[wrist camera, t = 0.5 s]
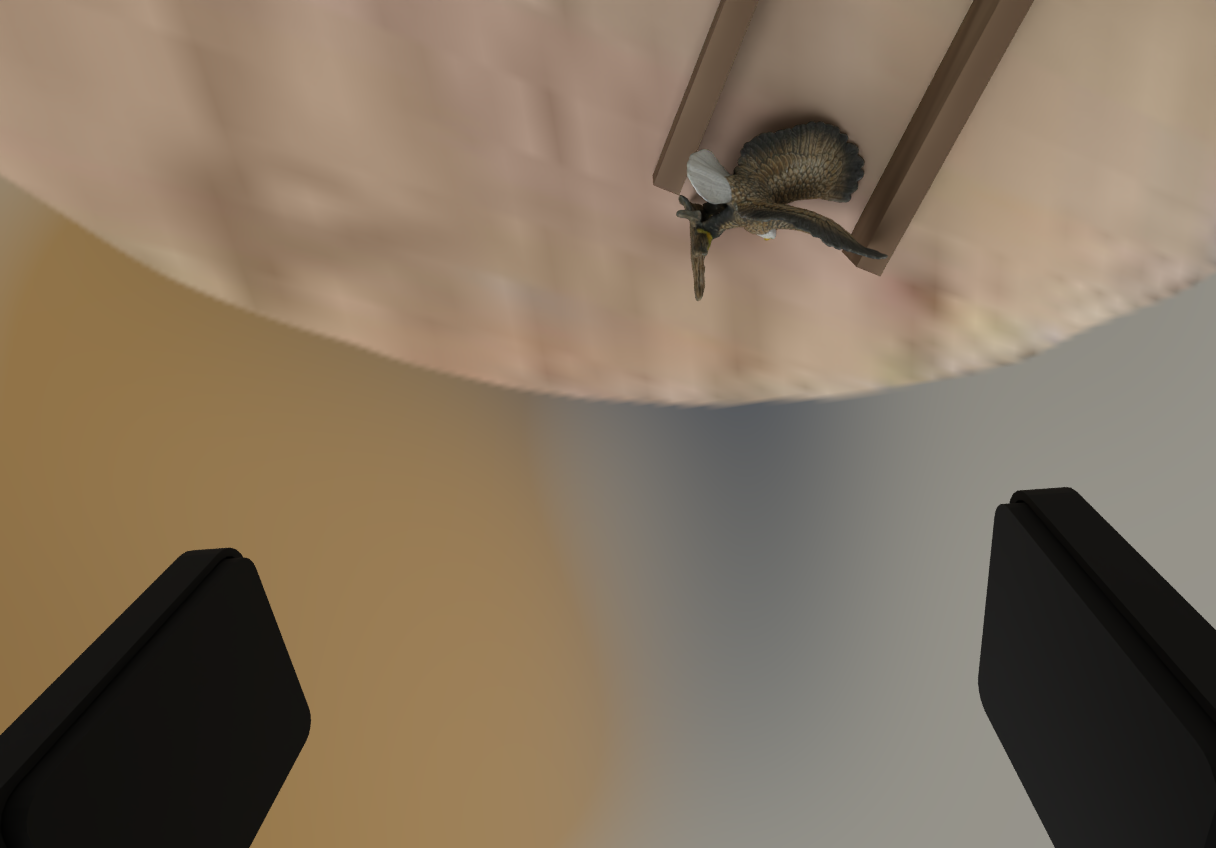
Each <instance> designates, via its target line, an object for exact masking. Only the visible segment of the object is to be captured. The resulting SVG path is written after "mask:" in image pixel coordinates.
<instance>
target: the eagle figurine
mask: <svg viewBox="0 0 1216 848" xmlns="http://www.w3.org/2000/svg"><path fill="white" fill-rule="evenodd" d="M847 140H848V137H847V135H846V134H840V130H839V128H838V127H836V126H833V125H831V124H825V123H824V122H817V123H815V122H814V121H812V122H809V123H808V124H807V125H805V124H802V125H796V126H794V127H793V128H792V129H790V128H787V129H785V130H779V131H777V132H776V133H772V132H768V133H762V134H760V135H759V136H756V137H754V138H753V139H752V140H751V141H750V142H747V143H745V145H744V148H743V149H741V151H740V153H741V157H740V158H739V160H738V165H739V166H737V167H736V168H735V169H734V174H733V175H731V174H729V173H728V172H727V171H726V170H725V169H724V167H723V166H722V165H721V164H720V163H719V161H718V160H717V159H716V157H715V156H714V154H713V153H712V152H711V151H709V150H707V149H702V150H700V151H698V152H696V153H692V154H691V155H690V157H689V160H688V162H687V176H688V178H689V180H690V181H691V184H692V186H693V187H694V188H695V190H696V192H697V193H698V194H699V195H700V196H701V197H702V198H703V199H704V200H706V201H707V203H705V204H703V206H702V205H700V204H693V203H691V202H689V200H688V199H687V198H686V197H684V196H682V195H680V196H679V202H680V203H681V204H682V205H683V206H684V208H685V210H679V211H678V212H677V214H676V215H677V217H680V218H686V219H689V221H690V238H691V262H692V270H693V277H694V291H695V298H696V300H697V301H700V300H701V298H702V296H703V292H704V288H705V280H704V272H705V267H704V258H705V256H706V255H707V253H708V250H709V247H710V245H711V241H712V240H713V239H714V238H717V237H719V236H720V235H721V234H722V233H723V231H725V230H726V229H731V228H736V227H744V229H745V230H747V231H748V232H750V233H752V234H756V235H759V236H761V237H763V238H764V239H765V240H769V239H774V238H775V237H776V229H790V230H797V231H802V232H805V233H808V234H811V235H812V236H813V237H818V238H820V239H821V240H822V241H823V242H824V243H825V244H826V245H827V246H829V247H834V248H835V249H838V250H841V249H843V250H845V251H847V252H852V253H855V254H857V255H861V256H865V257H868V258H872V259H878V260H880V259H886V258H887V257H888V255H886V254H883V253H880V252H879V251H876V250H873V249H870V248H866V247H864V246H862V245H861V244H860V243H858V242H857V241H856V239H855V238H854V237H853V236H852V235H851V234H850V233H848V232H847V231H846V230H845V229H844V228H842V227H841V226H840V225H839V224H837V223H836V222H834V221H833V220H831V219H829V218H827V217H824V216H822V215H820V214H817V213H815V212H813V211H809V210H807V209H802V208H797V207H794V206H789V205H784V204H787V203H790V202H793V201H797V200H806V199H817V198H820V199H824V200H828V201H835V202H849V200H850V199H851V194H852V193H853V192H854V191H856V190H857V189H858V184H857V181H858V180H860V179H861V178H862V177H863V176H864V171H863V170H862V167H863V166H864V160H863V158H861V157H860V156H858V155H857V154H858V152H859V149H858V147H857V146H856V145H854V144H851V143H847Z"/></svg>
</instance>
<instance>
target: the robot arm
mask: <svg viewBox="0 0 1216 848" xmlns="http://www.w3.org/2000/svg"><path fill="white" fill-rule="evenodd" d="M978 686H979V693H980V698H981V701H982V704H983V707H984V709H985V712H986V714H987V716H988V718H989V720H990V722H991V724H992V726H993V728H994V730H995V732H996V734H997V736H998V737H999V739H1000V741H1001V743H1002V745H1003V747H1004V749H1005V751H1006V753H1007V755H1008V757H1009V759H1010V760H1011V763H1012V765H1013V767H1014V769H1015V771H1016V772H1017V775H1018V777H1019V778H1020V780H1021V782H1022V784H1023V786H1024V788H1025V790H1026V792H1027V794H1028V796H1029V798H1030V800H1031V802H1032V804H1033V806H1034V808H1035V810H1036V812H1037V814H1038V816H1039V817H1040V819H1041V821H1042V823H1043V825H1044V827H1045V829H1046V831H1047V833H1048V835H1049V837H1050V839H1051V841H1052V843H1053V845H1054V847H1055V848H1216V630H1215V629H1214V628H1213V627H1212V626H1211V625H1210V624H1209V623H1208V622H1207V621H1206V620H1205V619H1204V618H1203V617H1202V616H1201V615H1200V614H1199V613H1198V612H1197V611H1196V610H1195V609H1194V608H1193V607H1192V606H1191V605H1190V604H1189V603H1188V602H1187V601H1186V600H1185V599H1184V598H1183V597H1182V596H1181V595H1180V594H1179V593H1178V592H1177V591H1176V590H1175V589H1174V588H1173V587H1172V586H1171V585H1170V584H1169V583H1168V582H1167V581H1166V580H1165V579H1164V578H1163V577H1162V576H1161V575H1160V574H1159V573H1158V572H1157V571H1156V570H1155V569H1154V568H1153V567H1152V566H1151V565H1150V564H1149V563H1148V562H1147V561H1146V560H1145V559H1144V558H1143V557H1142V556H1141V555H1140V554H1139V553H1138V552H1137V551H1136V550H1135V549H1134V548H1133V547H1132V546H1131V545H1130V544H1129V543H1128V542H1127V541H1126V540H1125V539H1124V538H1123V537H1122V536H1121V535H1120V534H1119V533H1118V532H1117V531H1116V530H1115V529H1114V528H1113V527H1112V526H1111V525H1110V524H1109V523H1108V522H1107V521H1106V520H1105V519H1104V518H1103V517H1101V516H1100V514H1099V513H1098V512H1097V511H1096V510H1095V509H1093V507H1092V506H1091V505H1090V504H1089V503H1088V502H1086V501H1085V499H1084V498H1083V497H1082V496H1081V495H1080V494H1078V492H1076V491H1075V490H1073V489H1072V488H1068V487H1062V488H1048V489H1035V490H1020V491H1016V492H1015V493H1014V494H1013V495H1012V497H1011V499H1010V504H1000V505H999V506H998V507H997V509H996V512H995V517H994V527H993V538H992V547H991V557H990V566H989V577H988V586H987V597H986V606H985V616H984V625H983V635H982V645H981V655H980V666H979V675H978ZM310 724H311V715H310V710H309V707H308V704H307V702H306V699H305V696H304V694H303V691H302V689H301V686H300V683H299V680H298V678H297V675H296V673H295V670H294V667H293V665H292V662H291V659H290V657H289V654H288V651H287V649H286V646H285V644H284V641H283V638H282V636H281V633H280V630H279V628H278V625H277V622H276V620H275V617H274V614H273V612H272V609H271V607H270V604H269V601H268V599H267V596H266V594H265V591H264V588H263V585H262V583H261V580H260V577H259V575H258V572H257V570H256V567H255V565H254V563H253V562H252V561H251V560H250V559H248V558H243V556H242V555H241V553H239V552H238V551H237V550H236V549H233V548H219V549H205V550H193V551H187V552H185V553H183V554H182V555H181V556H179V557H178V558H177V559H176V560H175V561H174V562H173V564H171V565H170V566H169V567H168V568H167V569H166V570H165V571H164V572H163V573H162V575H160V576H159V577H158V578H157V579H156V580H155V581H154V582H153V583H152V584H151V585H150V586H149V587H148V588H147V589H146V590H145V591H144V592H143V593H142V594H141V595H140V596H139V598H137V599H136V600H135V601H134V602H133V603H132V604H131V605H130V606H129V607H128V608H127V609H126V610H125V611H124V612H123V613H122V614H121V615H120V616H119V617H118V618H117V619H116V620H115V621H114V622H113V623H112V624H111V625H110V626H109V627H108V628H107V629H106V630H105V631H104V632H103V633H102V634H101V635H100V636H99V637H98V638H97V639H96V640H95V641H94V642H93V643H92V644H91V645H90V646H89V647H88V648H87V649H86V650H85V651H84V652H83V653H82V654H81V655H80V656H79V657H78V658H77V659H76V660H75V661H74V663H72V664H71V665H70V666H69V667H68V668H67V669H66V670H65V671H64V672H63V673H62V674H61V675H60V677H58V678H57V679H56V680H55V681H54V682H53V683H52V684H51V685H50V686H49V687H48V688H47V689H46V690H45V691H44V692H43V693H42V694H41V695H40V696H39V697H38V698H37V699H36V700H35V701H34V702H33V703H32V704H31V705H30V706H29V707H28V708H27V709H26V710H25V711H24V712H23V713H22V714H21V715H20V716H19V717H18V718H17V719H16V720H15V721H14V722H13V723H12V724H11V725H10V726H9V727H8V728H7V729H6V730H5V731H4V732H3V733H2V734H1V735H0V848H249V847H250V845H251V844H252V842H253V840H254V838H255V836H256V834H257V832H258V830H259V829H260V826H261V825H262V823H263V821H264V819H265V817H266V815H267V813H268V811H269V809H270V808H271V806H272V804H273V802H274V800H275V798H276V796H277V795H278V792H279V791H280V789H281V787H282V785H283V783H284V782H285V780H286V778H287V776H288V774H289V772H290V770H291V768H292V766H293V765H294V763H295V761H296V759H297V757H298V755H299V753H300V752H301V750H302V748H303V746H304V744H305V742H306V740H307V738H308V735H309V731H310Z"/></svg>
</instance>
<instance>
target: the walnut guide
mask: <svg viewBox="0 0 1216 848" xmlns="http://www.w3.org/2000/svg"><path fill="white" fill-rule="evenodd" d="M758 1H759V0H721V2H720V4H719V7H718V9H717V12H716V14H715V17H714V20H713V22H712V25H711V27H710V30H709V32H708V35H707V37H706V40H705V43H704V45H703V48H702V50H701V53H700V55H699V58H698V61H697V63H696V66H695V68H694V71H693V73H692V76H691V79H690V81H689V84H688V86H687V89H686V91H685V94H684V96H683V99H682V102H681V104H680V107H679V109H678V112H677V114H676V117H675V120H674V122H673V125H672V127H671V130H670V132H669V135H668V138H667V140H666V143H665V145H664V148H663V150H662V153H661V156H660V158H659V161H658V163H657V166H656V168H655V171H654V173H653V185H654V186H657V187H659V188H662V189H664V190H667V191H669V192H672V193H674V194H677V195H679V194H680V192H681V189H682V187H683V184H684V182H685V179H686V177H687V162H688V160H689V157H690V155H691V154H692V153H696V152H697V150H698V148H699V145H700V143H701V140H702V138H703V135H704V133H705V131H706V128H707V126H708V123H709V121H710V118H711V116H712V114H713V111H714V109H715V106H716V104H717V101H718V99H719V96H720V94H721V92H722V89H723V87H724V84H725V82H726V79H727V77H728V74H729V72H730V70H731V67H732V65H733V62H734V60H735V57H736V55H737V53H738V50H739V48H740V45H741V43H742V40H743V38H744V35H745V33H746V31H747V28H748V26H749V23H750V21H751V18H752V16H753V13H754V11H755V9H756V6H757V4H758ZM1033 1H1034V0H974V1H973V3H972V5H971V7H970V9H969V11H968V13H967V15H966V17H965V19H964V20H963V22H962V24H961V26H960V28H959V30H958V32H957V34H956V36H955V38H954V40H953V41H952V43H951V45H950V47H949V49H948V51H947V53H946V55H945V57H944V59H943V60H942V62H941V64H940V66H939V68H938V70H937V72H936V74H935V76H934V78H933V80H932V81H931V83H930V85H929V87H928V89H927V91H926V93H925V95H924V97H923V99H922V101H921V102H920V104H919V106H918V108H917V110H916V112H915V114H914V116H913V118H912V120H911V121H910V123H909V125H908V127H907V129H906V131H905V133H904V135H903V137H902V139H901V141H900V142H899V144H898V146H897V148H896V150H895V152H894V154H893V156H892V158H891V160H890V162H889V163H888V165H887V167H886V169H885V171H884V173H883V175H882V177H881V179H880V181H879V182H878V184H877V186H876V188H875V190H874V192H873V194H872V196H871V198H870V200H869V202H868V203H867V205H866V207H865V209H864V211H863V213H862V215H861V217H860V219H859V221H858V223H857V224H856V226H855V228H854V230H853V232H852V234H851V235H852V236H853V237H854V238H855V239H856V241H857V242H858V243H860V244H861V245H862V246H864V247H866V248H870V249H873V250H876V251H879V252H880V253H883V254H886V255H888V257H887V258H886V259H880V260H878V259H872V258H868V257H865V256H861V255H857V254H855V253H852V252H847V251H845V250H843V251H842V252H843V253H844V254H845V255H846V256H847V257H848V258H849V260H850V261H851V262H852V263H853V264H854V265H855V266H856V267H858V268H861V269H863V270H866V271H868V272H871V273H873V274H876V275H878V276H881V274H882V272H883V271H884V269H885V267H886V265H887V263H888V262H889V260H890V258H891V256H892V254H893V253H894V251H895V249H896V247H897V245H898V244H899V242H900V240H901V238H902V236H903V235H904V233H905V231H906V229H907V227H908V226H909V224H910V222H911V220H912V218H913V217H914V215H915V213H916V211H917V209H918V208H919V206H920V204H921V202H922V200H923V199H924V197H925V195H926V193H927V191H928V190H929V188H930V186H931V184H932V182H933V181H934V179H935V177H936V175H937V173H938V172H939V170H940V168H941V166H942V164H943V163H944V161H945V159H946V157H947V155H948V154H949V152H950V150H951V148H952V146H953V145H954V143H955V141H956V139H957V138H958V136H959V134H960V132H961V130H962V129H963V127H964V125H965V123H966V121H967V120H968V118H969V116H970V114H971V112H972V111H973V109H974V107H975V105H976V103H977V102H978V100H979V98H980V96H981V94H982V93H983V91H984V89H985V87H986V85H987V84H988V82H989V80H990V78H991V76H992V75H993V73H994V71H995V69H996V67H997V66H998V64H999V62H1000V60H1001V58H1002V57H1003V55H1004V53H1005V51H1006V49H1007V48H1008V46H1009V44H1010V42H1011V40H1012V39H1013V37H1014V35H1015V33H1016V31H1017V30H1018V28H1019V26H1020V24H1021V22H1022V21H1023V19H1024V17H1025V15H1026V13H1027V12H1028V10H1029V8H1030V6H1031V5H1032V3H1033Z"/></svg>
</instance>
